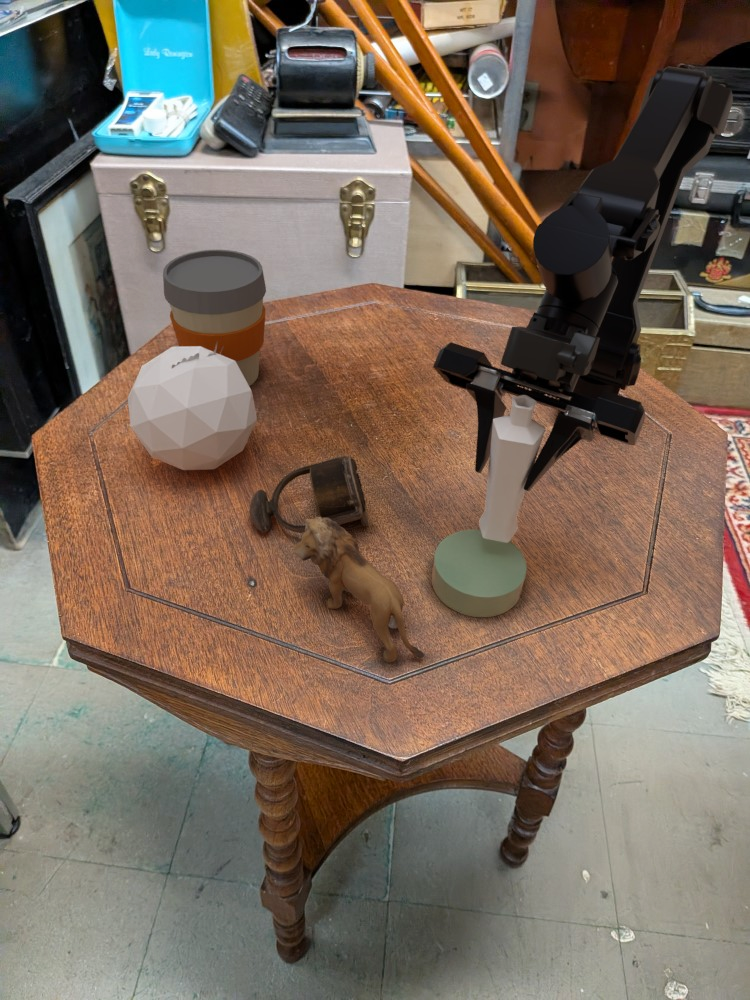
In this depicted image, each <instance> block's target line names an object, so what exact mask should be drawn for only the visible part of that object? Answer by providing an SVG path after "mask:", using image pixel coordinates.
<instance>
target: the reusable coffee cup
mask: <svg viewBox="0 0 750 1000" xmlns="http://www.w3.org/2000/svg"><path fill="white" fill-rule="evenodd" d="M162 277H163V278H162V281H163V295H164V296H163V297H164V299H165V300H166V302H167V303H168V304H169V307H170V312H169V318H170V321H171V325H172V327H173V331H174V334H175V337H176V340H177V344H178V347H181V346H201V347H203V348H206V349H208V350H210V351H213V352H214V350H215V347H216V346H217V349H216V353H218V354H220V352H221V354H220V355H222V356H225V357H227V358H230V359H232V360H235V361H236V363H237V365H238V367H239V369H240V371H241V372H242V374H243V376H244V378H245V380H246V381H247V383H248V385H249V387H251V386H252V385H253V384H254V383H255V382H256V381H257V380H258V378H259V374H260V373H259V372H260V355H261V348H262V347H263V346H264V341H265V326H266V307H265V305H264V297H265V295H266V292H267V285H266V281H265V276H264V271H263V266H262V264H261V262H260V261H259V260H258V259H257V258H255V257H253V256H252V255H250V254H247V253H244V252H240V251H237V250H236V251H235V250H229V249H204V250H198V251H192V252H188V253H186V254H181V255H179V256H177V257H175V258H173V259H171V260H170V261H169V262H168V263H166V265H165V266H164V267H163V271H162ZM216 343H218V344H216ZM222 348H223V349H222ZM221 350H222V351H221Z"/></svg>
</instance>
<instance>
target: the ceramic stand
mask: <svg viewBox="0 0 750 1000" xmlns="http://www.w3.org/2000/svg"><path fill="white" fill-rule="evenodd" d="M527 568H528V567H527V562H526V558H525V556H524V554H523V552H522V551H521V549H520V548H519V546H517V545H516V544H515V543H513V542H512V541H511V540H510V541H509V542H508V543H505V542H500V541H495V540H490V539H485V538H483V537H482V533H481V529H464V530H460V531H456V532H453V533H451V534H449V535H447V536H446V537H444V538H443V539H442V540H441V541H440V542H439V543H438V545H437V547H436V548H435V551H434V555H433V562H432V569H431V579H430V580H431V585H432V586H431V587H432V589H433V591H434V593H435V595H436V596H437V598H438V599H439V600H440V601H441V602H442V604H444V605H445V606H446V607H448V608H450V609H451V610H453V611H455V612H457V613H459V614H461V615H465V616H467V617H474V618H491V617H492V618H493V617H496V616H499V615H502V614H505V613H506V612H508V611H509V610H511V609H512V608H514V606H515V605H516V604H517V603H518V602H519V600H520V598H521V594H522V591H523V587H524V583H525V580H526V576H527V571H528V570H527Z"/></svg>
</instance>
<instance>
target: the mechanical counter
mask: <svg viewBox="0 0 750 1000" xmlns="http://www.w3.org/2000/svg"><path fill="white" fill-rule="evenodd" d="M357 471H358V466H357V463H356V461H355V459H354V458H352V457H351V456H349V455H348V456H345V455H343V456H338V457H335V458H330V459H327V460H324V461H320V462H316V463H313V464H309V465H306V466H301V467H299V468H296V469H294V470H293V471H291V472H289V473H288V474H286V475H285V476H284V477H283V478H282V479H281V480H280V481H279V482H278V484H277V485H276V486H275V488H274V491H273V493H272V497H271V499H270V500H269V498H268V494H267V491H265V490H264V489H258V490H257V491H255V493H254V494H253V495H252V498H251V500H250V503H249V504H250V505H249V516H250V519H251V523H253V525H254V526H255V528H256V529H257V530H259V531H260V532H263V533H265V532H268V531H269V530H270V528H271V521H272V520H271V519H272V517H275V519H276V521H277V522H278V523H279V524H280V525H281V526H282V527H283V528H285V529H286V530H289V531H291V532H294V533H301V534H302V533H303V534H304V533H305V526H306V525H295V524H292V523H289V522H288V521H286V520H285V519H283V518H282V517H281V514H280V511H279V499H280V496H281V493H282V492H283V490H284V489H285V487H286V486H287V485H288V484H289V483H291V482H293V480H295V479H296V478H298V477H300V476H305V475H309V478H310V485H311V491H312V494H313V499H314V503H315V506H316V507H315V508H316V509H317V511H318V514H319V517H322V518H329V519H331V520H332V521H335V522H337V523H338V525H339V526H341V525H344V524H348V523H352V522H355V521H361V524H362V526H364V527H368V525H369V518H368V513H367V508H366V505H367V504H366V499H365V494H364V490H363V487H362V483H361V482H362V481H361V477H360V475H359V473H358V472H357Z"/></svg>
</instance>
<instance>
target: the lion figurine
mask: <svg viewBox="0 0 750 1000" xmlns="http://www.w3.org/2000/svg"><path fill="white" fill-rule="evenodd" d="M305 521H306V524H305V525H304V526H305V532H303V534H302V535H301V536H302V537H301V540H300V541H299V542H298V543H297V544H295V545H294V546H293V548H292V551H293V553H294V554H295V555H296V556H297V558H299V559H300V560H301V562H306V561H307V560H310V562H311V563H312V564H314V565H316V566H318V567H319V570H320V572H321V574H322V575H323V576H324V577H325V578H326V579H327V580H328V585H329V591H330V593H331V596H332V597H330V598H328V599H327V601H326V606H327V609H330V610H337V609H339V608H341V607H342V605H343V596H342V593H343V591H345V592H346V593H350V594H351V595H352V596H353V597H354V598H355V599H357V600H358V601H360V602H361V603H364V604H366V605H369V613H370V614H369V615H370V618H371V621H372V625H373V628H374V630H375V632H376V634H377V635H378V637H379V639H380V640H381V642H382V643H383V645H384V647H385V648H386V649H384V650H383V653H382V657H383V660H384V661H385V662H386V663H393V662H395V660H397V658H398V656H399V655H398V650H397V645H396V642H394V640H393V639H392V636H391V632H390V629H397V630H398V633H399V636H400V639H401V642H402V644H403V646H404V647H405V648H406V649H407V650H408V651H409V652H410V653H411V654H412V655H413V656H414V658H418V659H424V658H425V656H426V655H425V653H424V652H423V651H422V650H421V649H419V648H418V647H417V646H414V645H413V644H411V643H410V642H409V639H408V636H407V632H406V627H405V622H404V616H403V607H404V605H405V601H404V596H403V594H402V592H401V591H400V589H399V588H398V586H397V584H396V583H395V582H394V581H393V580H391V579H390V578H388V577H386V576H384V575H383V574H382V573H381V572H380V571H379V570H378V569H377V568H376V567H375V566H374V565H373V563H371V562H370V561H368V559H366V558H365V557H364V556H363V554H362V552H361V551H360V547H359V545H358V542H357V540H356V539H354V538H353V535H352V534H351V533H349V532H348V531H346V529H345V528H344V527H343V526H341V525H338V523H337V522H335V521H332V520H331V519H329V518H322V517H320V516H316V517H311V518H310V519H308V518H306V519H305Z"/></svg>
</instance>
